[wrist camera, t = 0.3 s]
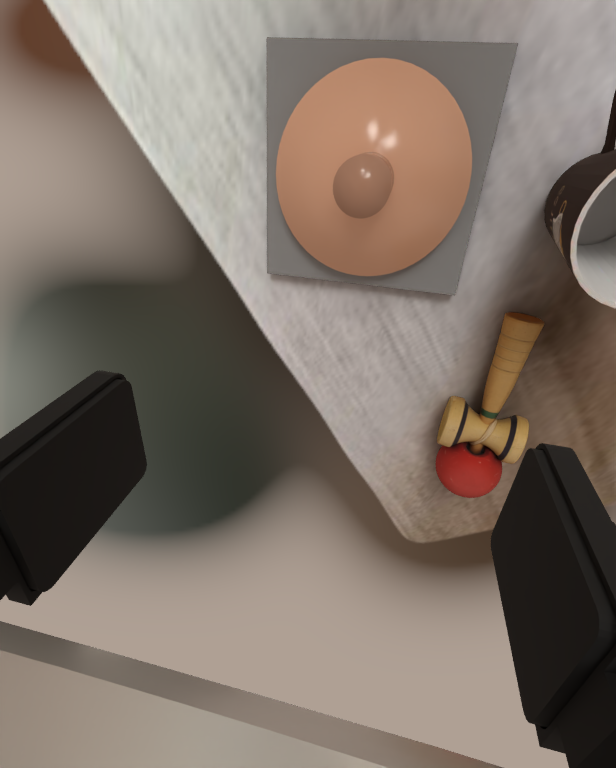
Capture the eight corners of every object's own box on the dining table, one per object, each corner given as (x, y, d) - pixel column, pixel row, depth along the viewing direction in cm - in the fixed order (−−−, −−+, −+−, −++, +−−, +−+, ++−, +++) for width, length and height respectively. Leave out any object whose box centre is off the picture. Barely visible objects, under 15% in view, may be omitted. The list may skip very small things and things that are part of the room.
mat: (271, 40, 28) (266, 37, 27) (514, 46, 26) (518, 43, 25) (270, 270, 37) (267, 273, 36) (453, 291, 34) (454, 295, 33)
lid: (281, 56, 28) (251, 39, 23) (496, 63, 26) (516, 46, 21) (278, 263, 35) (256, 284, 30) (445, 281, 33) (450, 308, 28)
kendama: (461, 300, 36) (413, 467, 43) (488, 319, 30) (428, 508, 38) (546, 311, 36) (484, 475, 44) (590, 333, 30) (509, 517, 38)
